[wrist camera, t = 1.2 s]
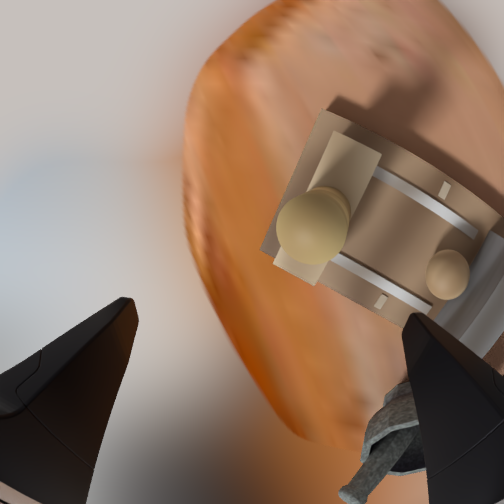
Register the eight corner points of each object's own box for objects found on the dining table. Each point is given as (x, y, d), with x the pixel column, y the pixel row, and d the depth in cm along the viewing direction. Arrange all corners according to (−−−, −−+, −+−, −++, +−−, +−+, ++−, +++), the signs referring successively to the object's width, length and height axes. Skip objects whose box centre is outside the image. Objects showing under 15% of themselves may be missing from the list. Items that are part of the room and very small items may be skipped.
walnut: (469, 257, 17) (485, 274, 14) (445, 295, 18) (456, 316, 15) (436, 235, 18) (449, 248, 15) (413, 274, 19) (420, 294, 16)
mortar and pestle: (450, 354, 21) (474, 455, 10) (454, 413, 22) (463, 500, 11) (343, 385, 26) (319, 484, 15) (363, 436, 27) (347, 521, 16)
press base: (516, 231, 16) (554, 254, 10) (444, 343, 21) (458, 390, 15) (324, 112, 20) (309, 91, 14) (265, 244, 25) (233, 271, 19)
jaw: (377, 156, 18) (391, 148, 10) (322, 265, 21) (295, 327, 13) (338, 137, 18) (322, 115, 10) (288, 246, 22) (241, 296, 14)
